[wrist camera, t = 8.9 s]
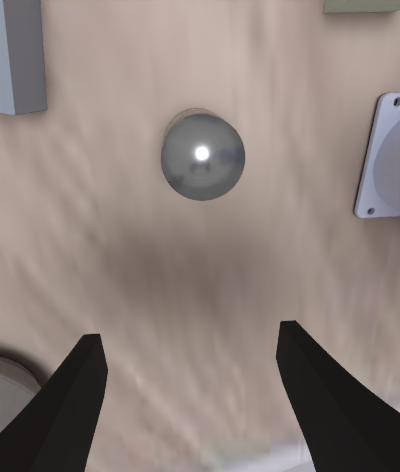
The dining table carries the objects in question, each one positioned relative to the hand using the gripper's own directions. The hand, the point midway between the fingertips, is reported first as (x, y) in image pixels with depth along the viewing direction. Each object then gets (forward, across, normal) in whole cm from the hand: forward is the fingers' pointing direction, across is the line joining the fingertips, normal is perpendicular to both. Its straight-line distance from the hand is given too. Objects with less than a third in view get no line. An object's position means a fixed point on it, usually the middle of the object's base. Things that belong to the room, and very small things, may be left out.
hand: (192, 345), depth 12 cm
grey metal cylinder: (+10, -1, -6) cm, 12 cm away
